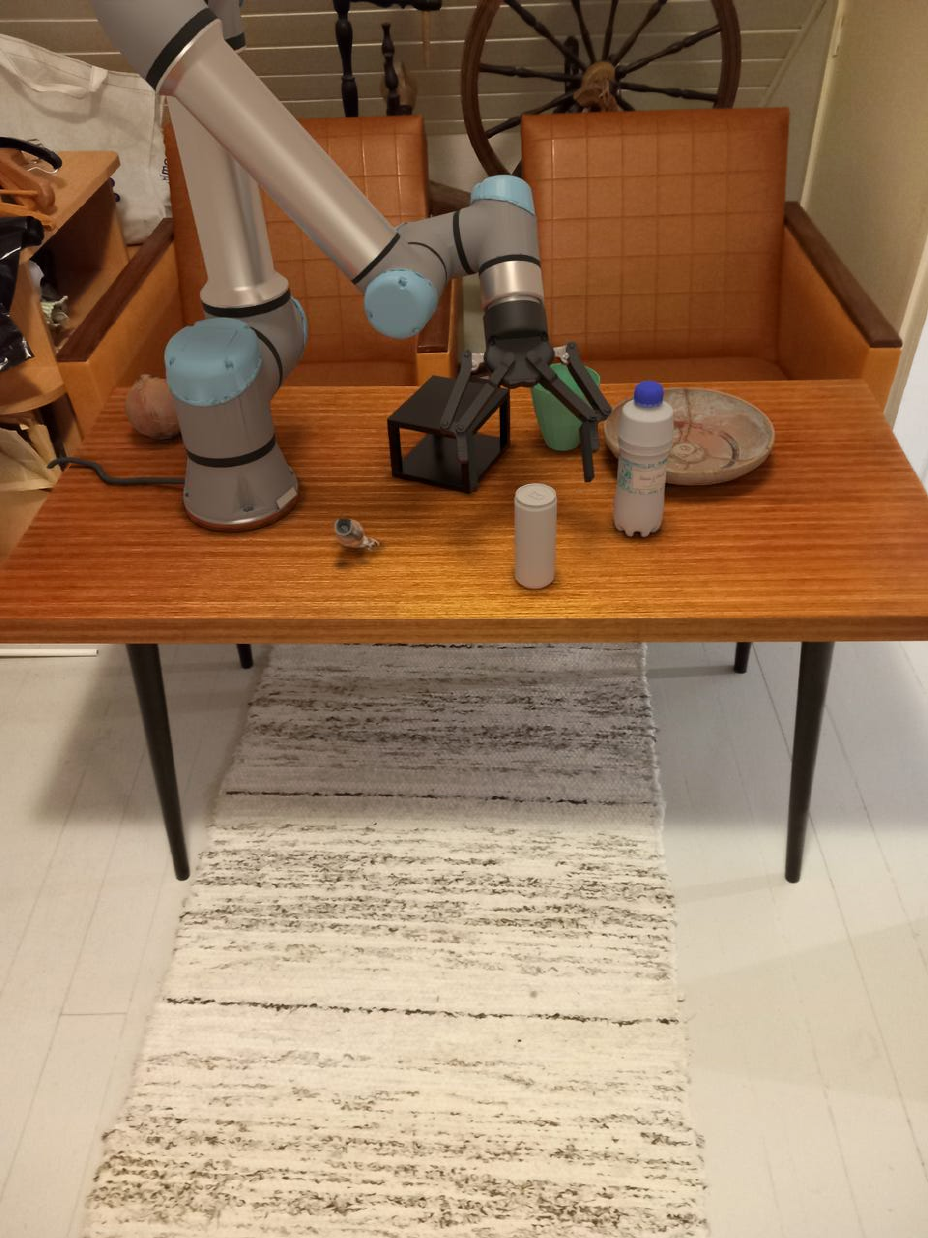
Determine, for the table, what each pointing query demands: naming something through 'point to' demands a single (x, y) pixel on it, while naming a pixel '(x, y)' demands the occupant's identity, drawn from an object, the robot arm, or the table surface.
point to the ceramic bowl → (707, 436)
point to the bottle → (643, 460)
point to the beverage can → (535, 535)
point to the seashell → (351, 534)
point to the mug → (559, 411)
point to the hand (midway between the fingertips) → (532, 485)
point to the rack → (445, 436)
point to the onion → (152, 408)
